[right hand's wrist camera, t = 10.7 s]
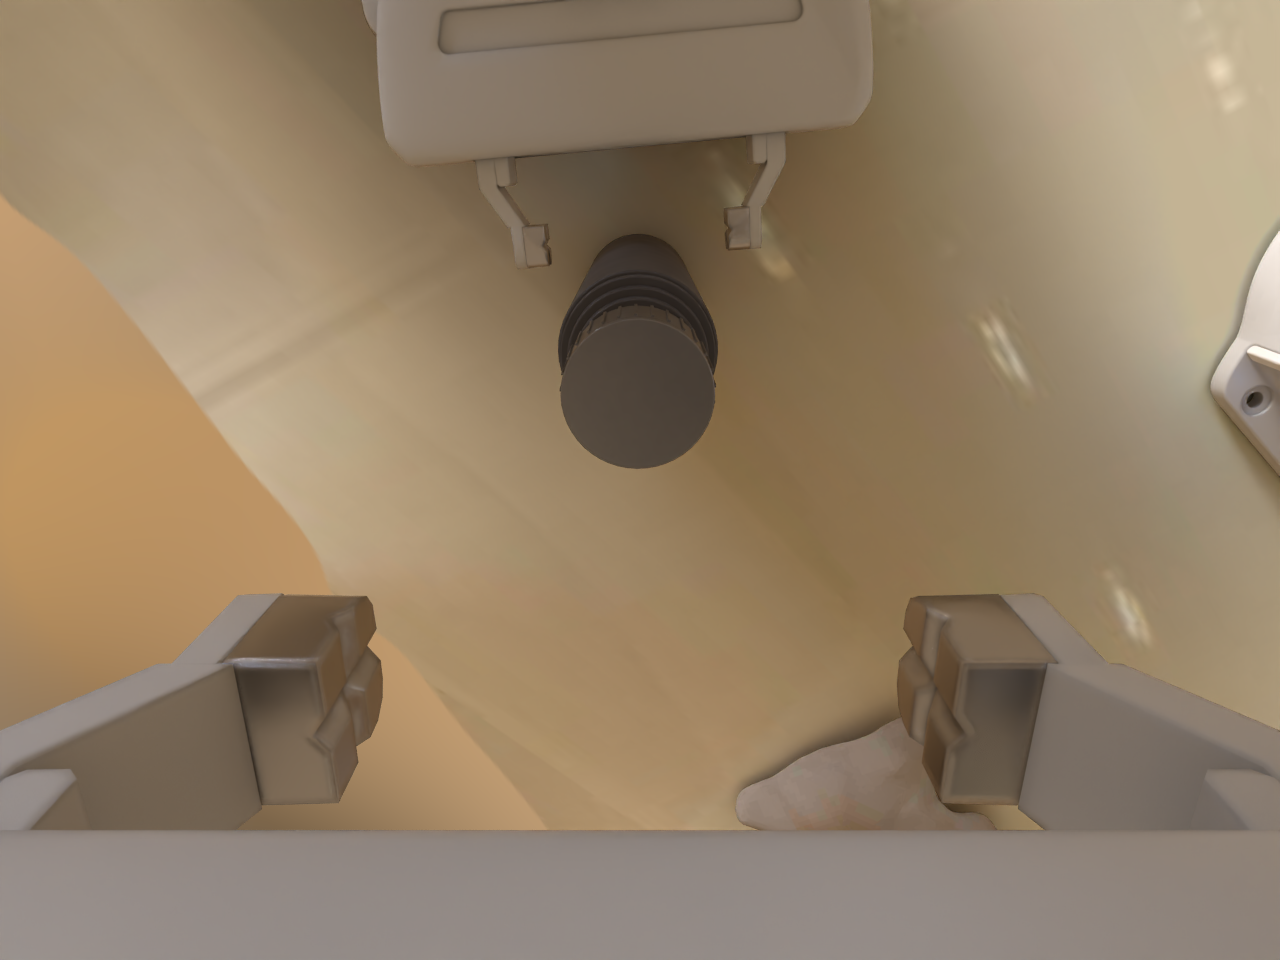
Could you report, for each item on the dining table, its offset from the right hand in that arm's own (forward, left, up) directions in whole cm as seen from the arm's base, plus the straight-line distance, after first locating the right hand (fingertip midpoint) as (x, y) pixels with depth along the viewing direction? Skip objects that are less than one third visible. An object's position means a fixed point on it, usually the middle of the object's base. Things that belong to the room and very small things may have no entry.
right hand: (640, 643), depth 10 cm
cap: (0, 0, -12) cm, 12 cm away
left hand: (+2, -1, -29) cm, 29 cm away
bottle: (0, 0, -35) cm, 35 cm away
